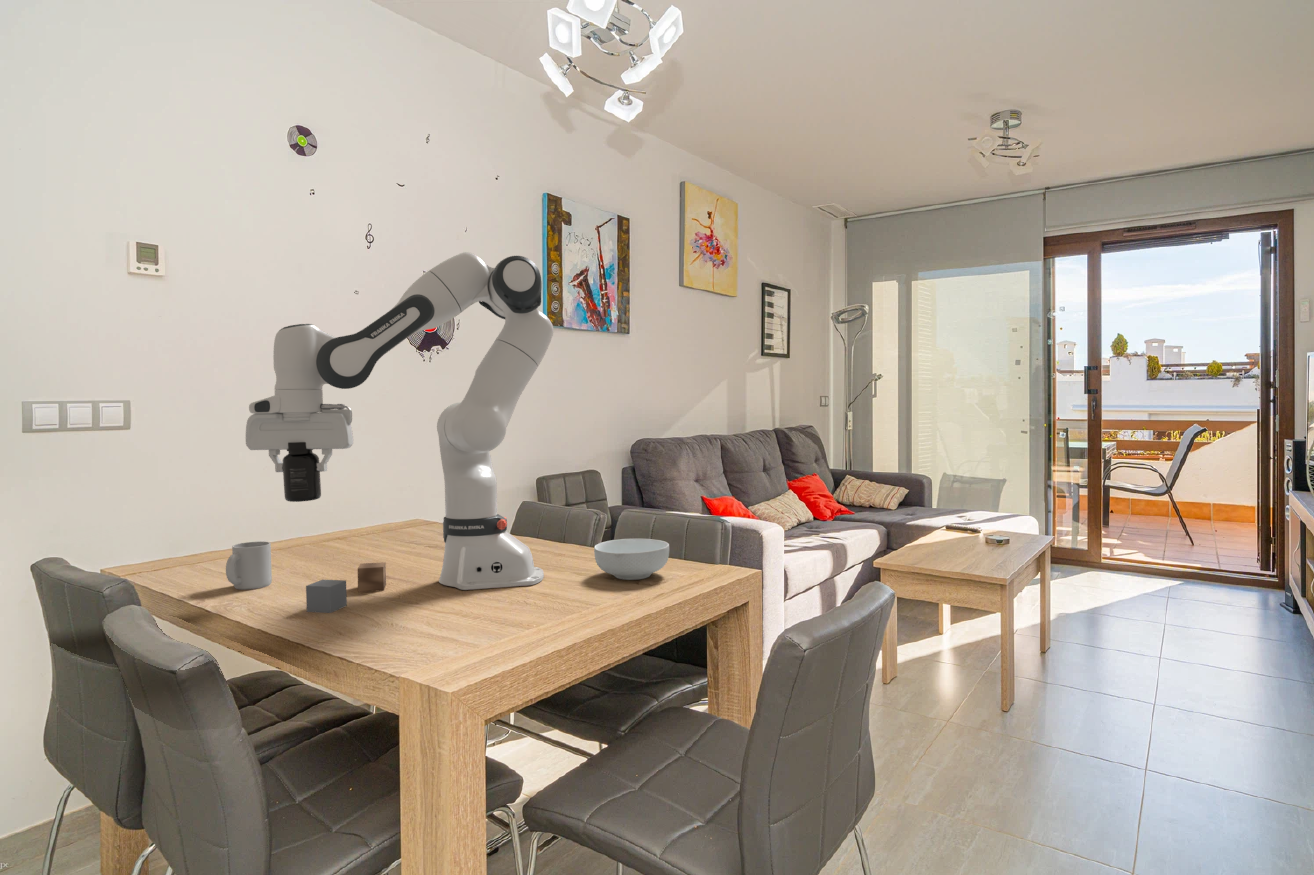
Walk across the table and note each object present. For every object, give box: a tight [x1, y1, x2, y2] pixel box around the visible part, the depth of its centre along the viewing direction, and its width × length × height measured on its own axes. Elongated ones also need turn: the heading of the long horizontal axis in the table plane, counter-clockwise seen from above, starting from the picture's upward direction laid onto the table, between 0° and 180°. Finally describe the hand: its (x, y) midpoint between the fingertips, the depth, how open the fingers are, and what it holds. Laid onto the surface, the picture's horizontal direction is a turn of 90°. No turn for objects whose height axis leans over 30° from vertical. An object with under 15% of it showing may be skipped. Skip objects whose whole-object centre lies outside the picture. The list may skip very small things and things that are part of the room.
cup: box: [225, 541, 273, 591], centre depth 157 cm, size 7×10×9 cm
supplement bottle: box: [282, 442, 322, 503], centre depth 151 cm, size 7×7×12 cm
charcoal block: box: [305, 579, 348, 614], centre depth 140 cm, size 5×5×5 cm
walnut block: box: [357, 561, 387, 593], centre depth 155 cm, size 5×5×5 cm
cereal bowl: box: [593, 538, 670, 581], centre depth 165 cm, size 17×17×7 cm
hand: (301, 471), depth 151 cm, fingers closed on supplement bottle, 7 cm apart
